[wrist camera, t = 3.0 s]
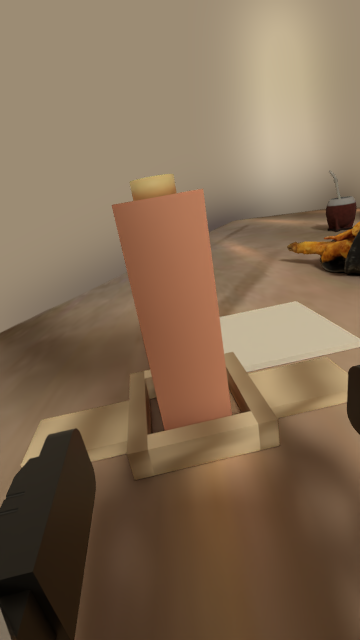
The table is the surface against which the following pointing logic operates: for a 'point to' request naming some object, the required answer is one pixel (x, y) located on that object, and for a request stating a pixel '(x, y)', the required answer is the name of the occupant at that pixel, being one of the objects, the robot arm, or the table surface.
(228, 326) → the felt pad
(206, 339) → the salmon block with knob
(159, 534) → the table surface
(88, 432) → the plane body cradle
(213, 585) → the table surface
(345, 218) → the mate gourd
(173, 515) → the table surface
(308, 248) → the fried shrimp in bowl
